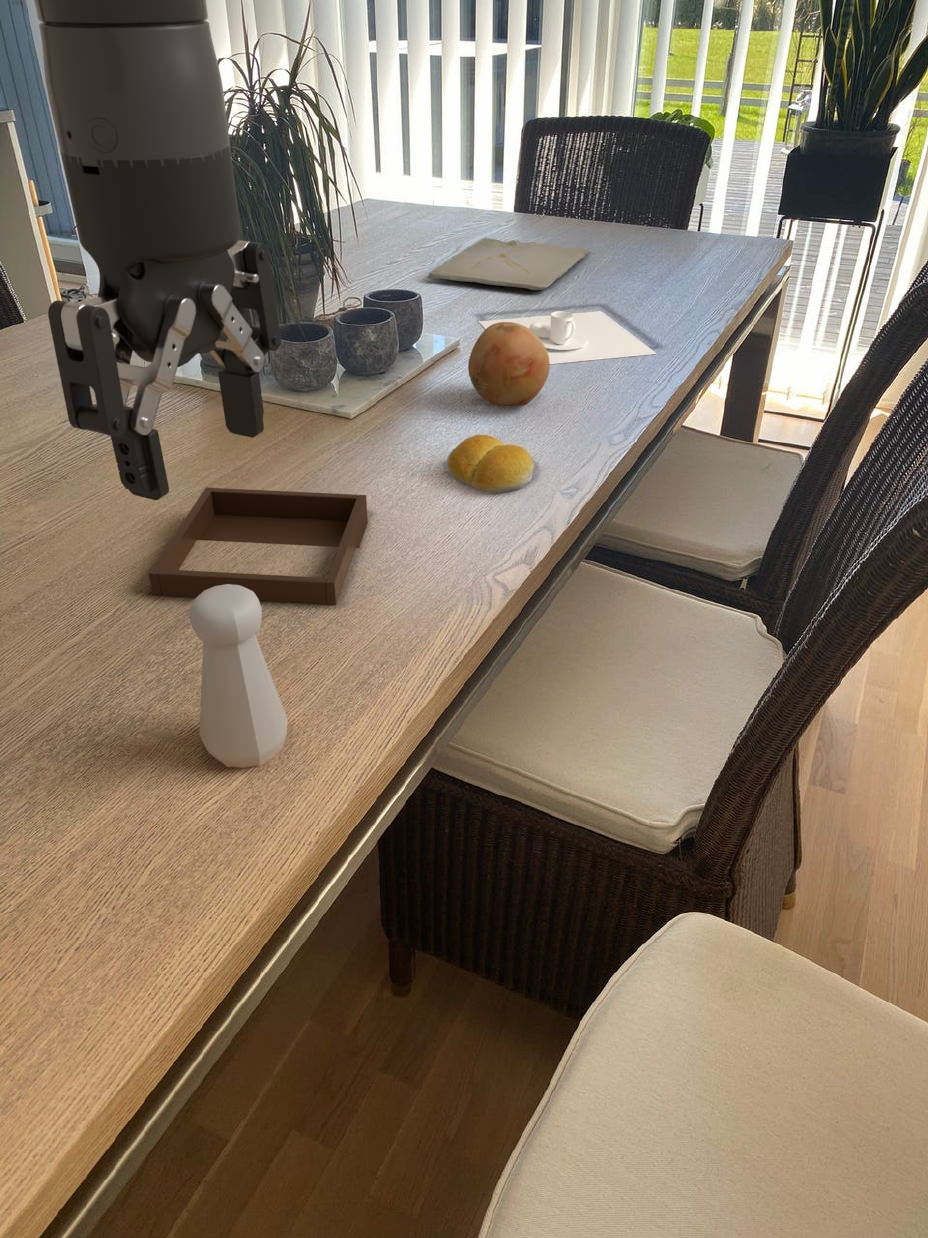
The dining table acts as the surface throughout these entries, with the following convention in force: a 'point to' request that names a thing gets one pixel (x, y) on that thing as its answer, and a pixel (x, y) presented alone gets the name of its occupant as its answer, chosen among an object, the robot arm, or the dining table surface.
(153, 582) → the tray
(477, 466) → the bread roll
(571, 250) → the decorative slab
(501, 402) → the onion
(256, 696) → the salt shaker
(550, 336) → the teacup and saucer
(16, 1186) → the dining table surface
